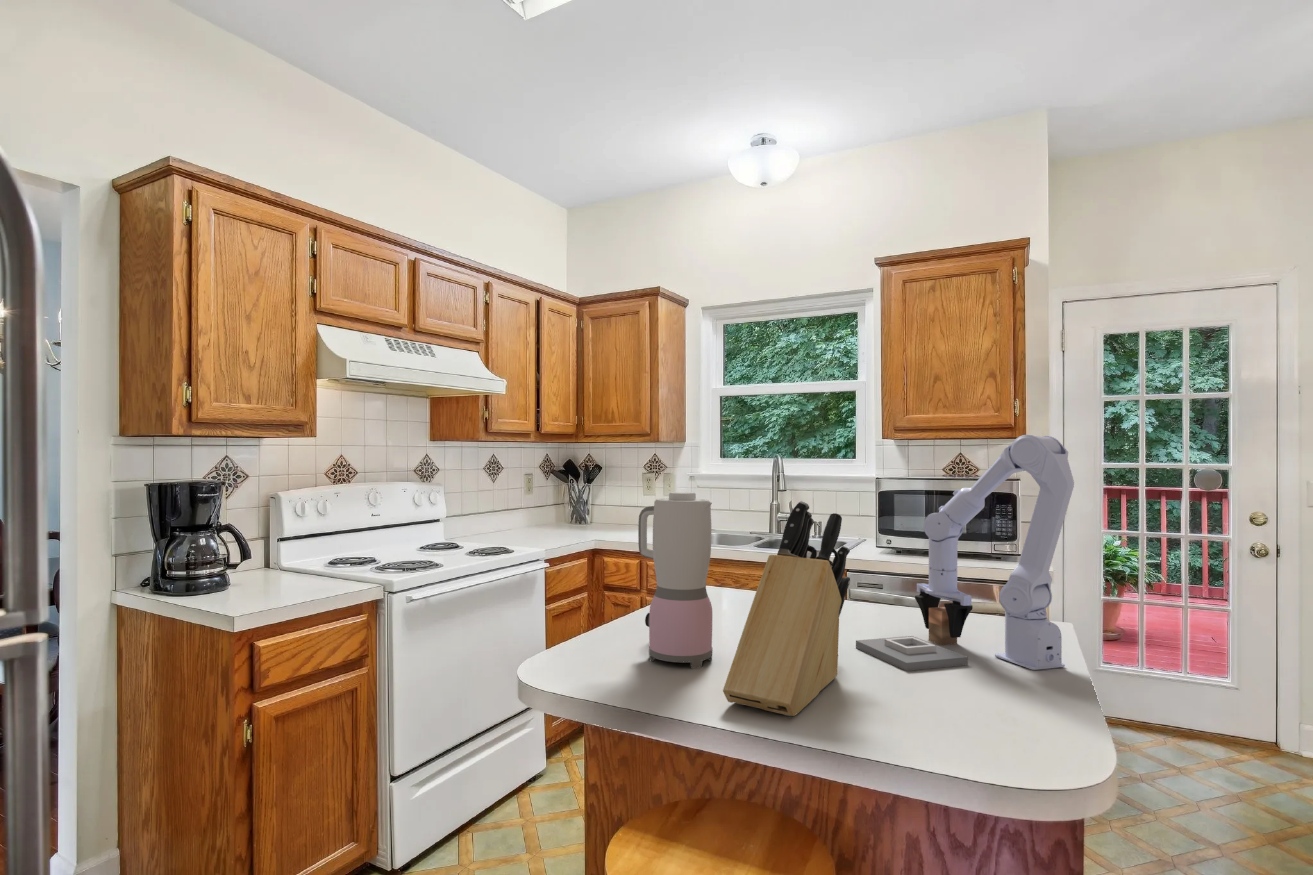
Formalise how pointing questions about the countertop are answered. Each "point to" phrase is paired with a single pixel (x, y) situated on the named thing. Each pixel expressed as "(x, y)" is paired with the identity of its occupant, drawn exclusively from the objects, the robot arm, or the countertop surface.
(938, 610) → the copper rectangular block
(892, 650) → the collar board
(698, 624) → the blender
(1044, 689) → the countertop surface
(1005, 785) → the countertop surface
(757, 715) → the countertop surface
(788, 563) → the knife block
